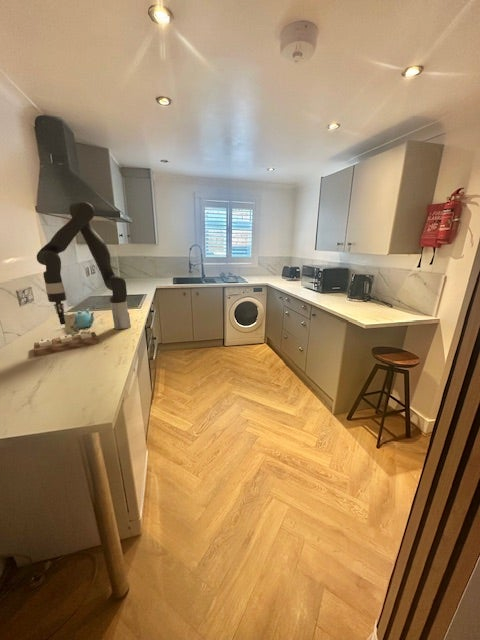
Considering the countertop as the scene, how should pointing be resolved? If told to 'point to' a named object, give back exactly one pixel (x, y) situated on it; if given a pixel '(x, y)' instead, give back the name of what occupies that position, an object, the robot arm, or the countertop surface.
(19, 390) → the countertop surface
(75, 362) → the countertop surface
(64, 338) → the button one
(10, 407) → the countertop surface
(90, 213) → the robot arm
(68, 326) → the box
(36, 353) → the button panel
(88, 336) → the button three
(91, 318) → the teapot
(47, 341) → the button two
